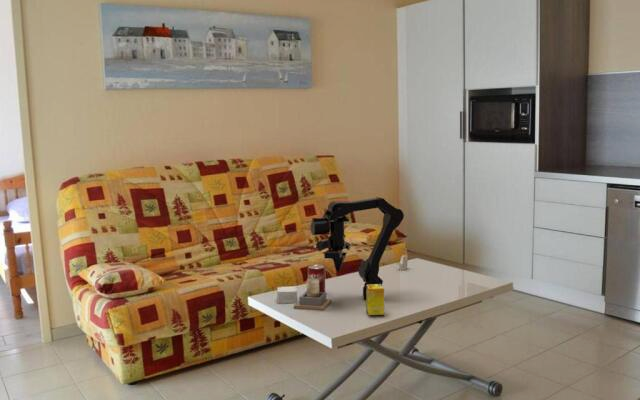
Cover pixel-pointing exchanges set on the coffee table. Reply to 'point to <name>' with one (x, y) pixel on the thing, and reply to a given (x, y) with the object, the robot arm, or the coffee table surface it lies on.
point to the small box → (287, 294)
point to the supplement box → (375, 300)
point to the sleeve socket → (313, 302)
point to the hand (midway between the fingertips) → (338, 271)
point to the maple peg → (313, 288)
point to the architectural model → (403, 263)
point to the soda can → (317, 275)
